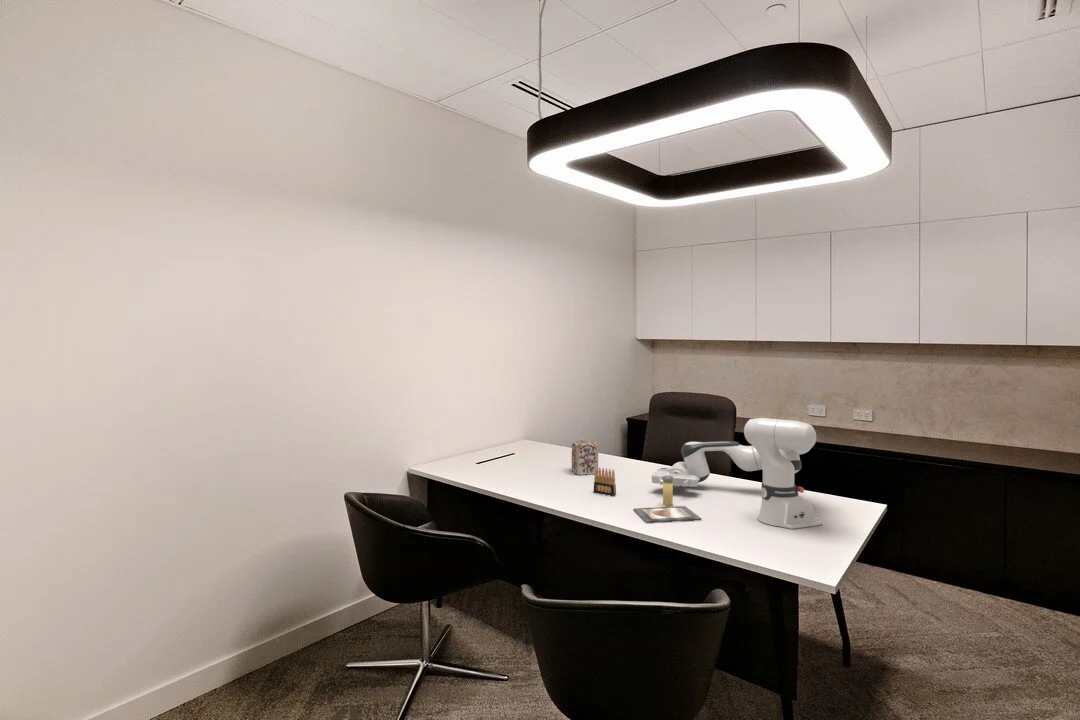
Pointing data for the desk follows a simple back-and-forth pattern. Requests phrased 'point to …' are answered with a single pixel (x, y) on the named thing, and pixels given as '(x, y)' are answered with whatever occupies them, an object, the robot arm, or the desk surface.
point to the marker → (668, 490)
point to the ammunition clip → (604, 482)
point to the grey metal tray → (666, 514)
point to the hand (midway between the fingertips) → (672, 483)
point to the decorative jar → (584, 457)
